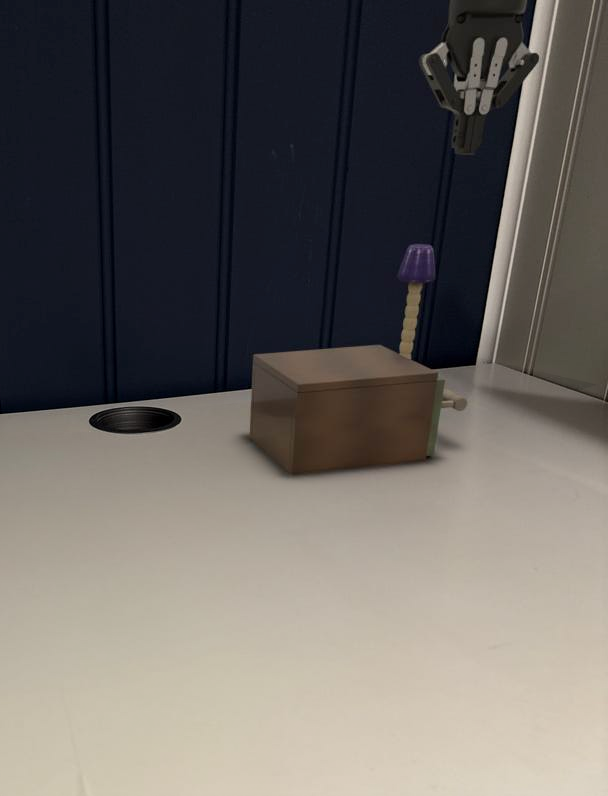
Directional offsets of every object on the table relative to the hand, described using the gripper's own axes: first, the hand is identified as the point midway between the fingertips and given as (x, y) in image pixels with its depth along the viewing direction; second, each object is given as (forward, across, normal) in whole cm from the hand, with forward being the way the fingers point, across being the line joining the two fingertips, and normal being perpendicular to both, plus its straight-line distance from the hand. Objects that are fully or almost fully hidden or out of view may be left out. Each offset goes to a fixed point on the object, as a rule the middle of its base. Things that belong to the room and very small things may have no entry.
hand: (464, 153), depth 102 cm
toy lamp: (+28, +1, +10) cm, 29 cm away
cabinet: (+28, -18, -17) cm, 37 cm away
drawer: (+27, -15, -16) cm, 34 cm away
